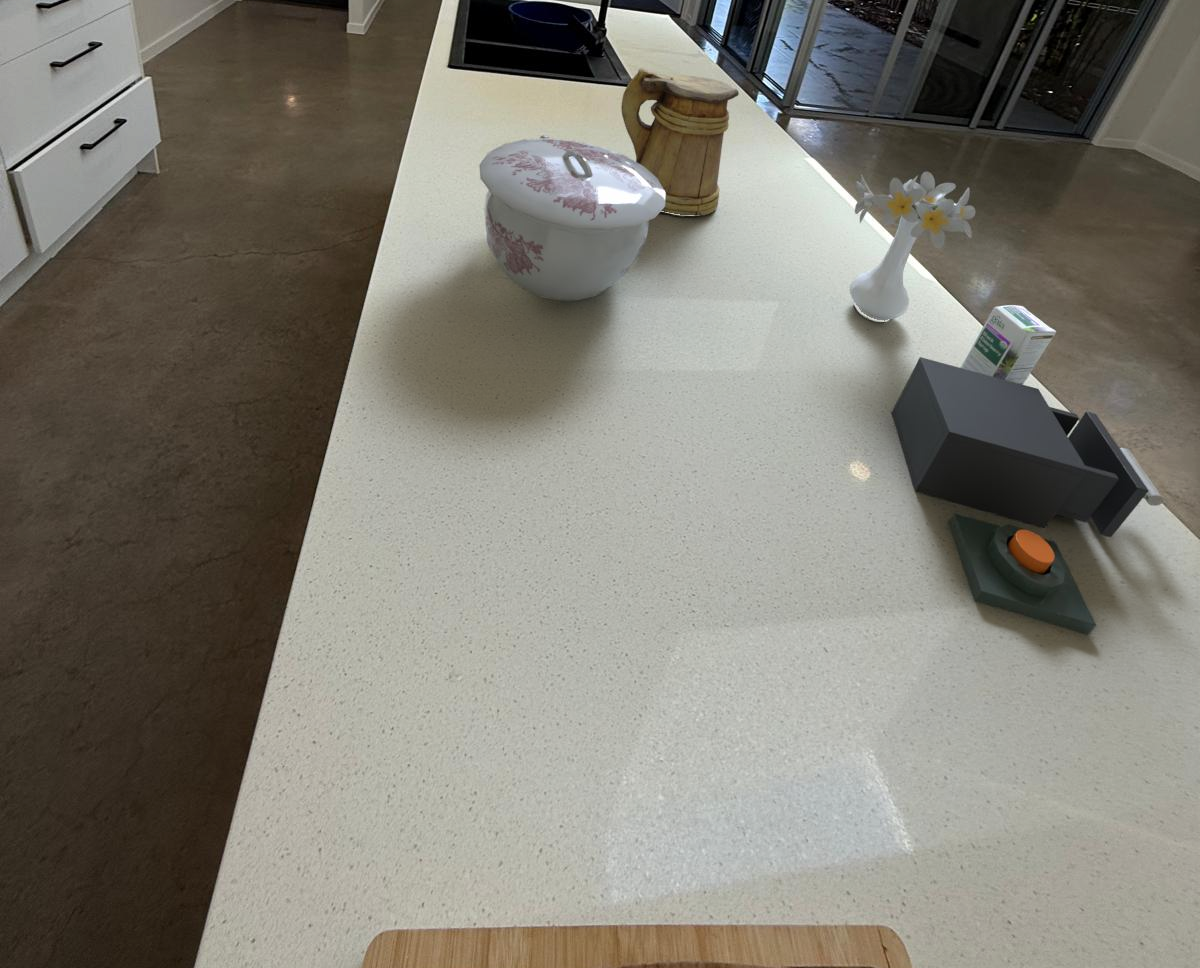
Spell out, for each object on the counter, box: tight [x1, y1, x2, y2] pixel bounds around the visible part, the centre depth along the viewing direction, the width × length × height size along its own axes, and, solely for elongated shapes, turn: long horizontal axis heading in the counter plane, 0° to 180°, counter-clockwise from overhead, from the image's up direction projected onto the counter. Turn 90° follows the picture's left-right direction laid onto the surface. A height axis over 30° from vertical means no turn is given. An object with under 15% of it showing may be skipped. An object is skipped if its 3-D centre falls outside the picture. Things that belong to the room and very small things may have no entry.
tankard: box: [621, 68, 740, 216], centre depth 128 cm, size 18×24×25 cm
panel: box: [947, 512, 1097, 636], centre depth 68 cm, size 11×9×4 cm
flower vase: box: [849, 171, 976, 321], centre depth 104 cm, size 13×18×25 cm
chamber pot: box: [478, 134, 666, 302], centre depth 98 cm, size 28×28×21 cm
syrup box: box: [959, 304, 1057, 385], centre depth 91 cm, size 6×6×14 cm
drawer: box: [1049, 406, 1164, 538], centre depth 78 cm, size 18×12×8 cm, turn 79°
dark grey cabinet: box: [890, 356, 1088, 529], centre depth 79 cm, size 15×13×10 cm
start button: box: [1008, 529, 1055, 573], centre depth 67 cm, size 4×4×2 cm
